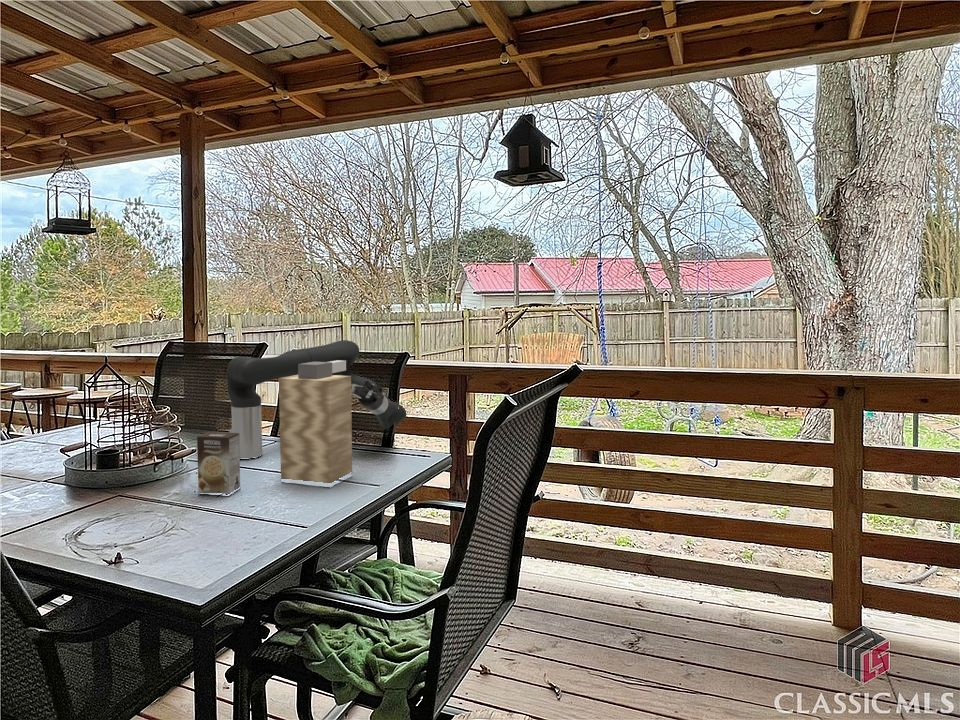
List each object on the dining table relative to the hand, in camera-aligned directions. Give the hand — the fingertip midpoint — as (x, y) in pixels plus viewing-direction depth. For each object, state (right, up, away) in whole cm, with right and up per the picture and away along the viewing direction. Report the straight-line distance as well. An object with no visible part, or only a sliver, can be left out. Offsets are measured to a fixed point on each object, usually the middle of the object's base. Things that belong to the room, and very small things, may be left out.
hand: (353, 382), depth 194 cm
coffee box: (-30, -29, -30) cm, 51 cm away
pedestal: (-7, -28, -18) cm, 34 cm away
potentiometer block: (-5, +3, -16) cm, 17 cm away
